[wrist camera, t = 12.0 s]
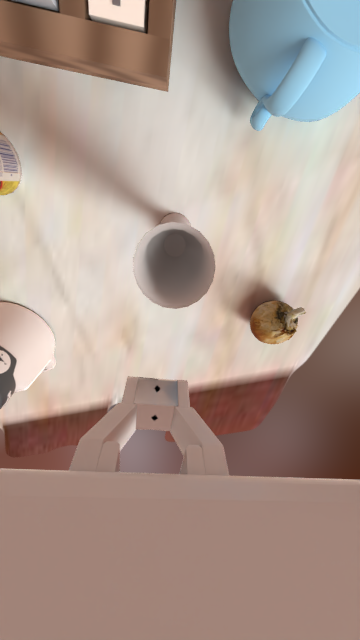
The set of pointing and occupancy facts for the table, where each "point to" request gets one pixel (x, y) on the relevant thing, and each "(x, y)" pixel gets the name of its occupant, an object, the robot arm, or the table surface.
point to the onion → (274, 322)
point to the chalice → (174, 263)
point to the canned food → (9, 167)
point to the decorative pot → (297, 56)
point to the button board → (90, 41)
